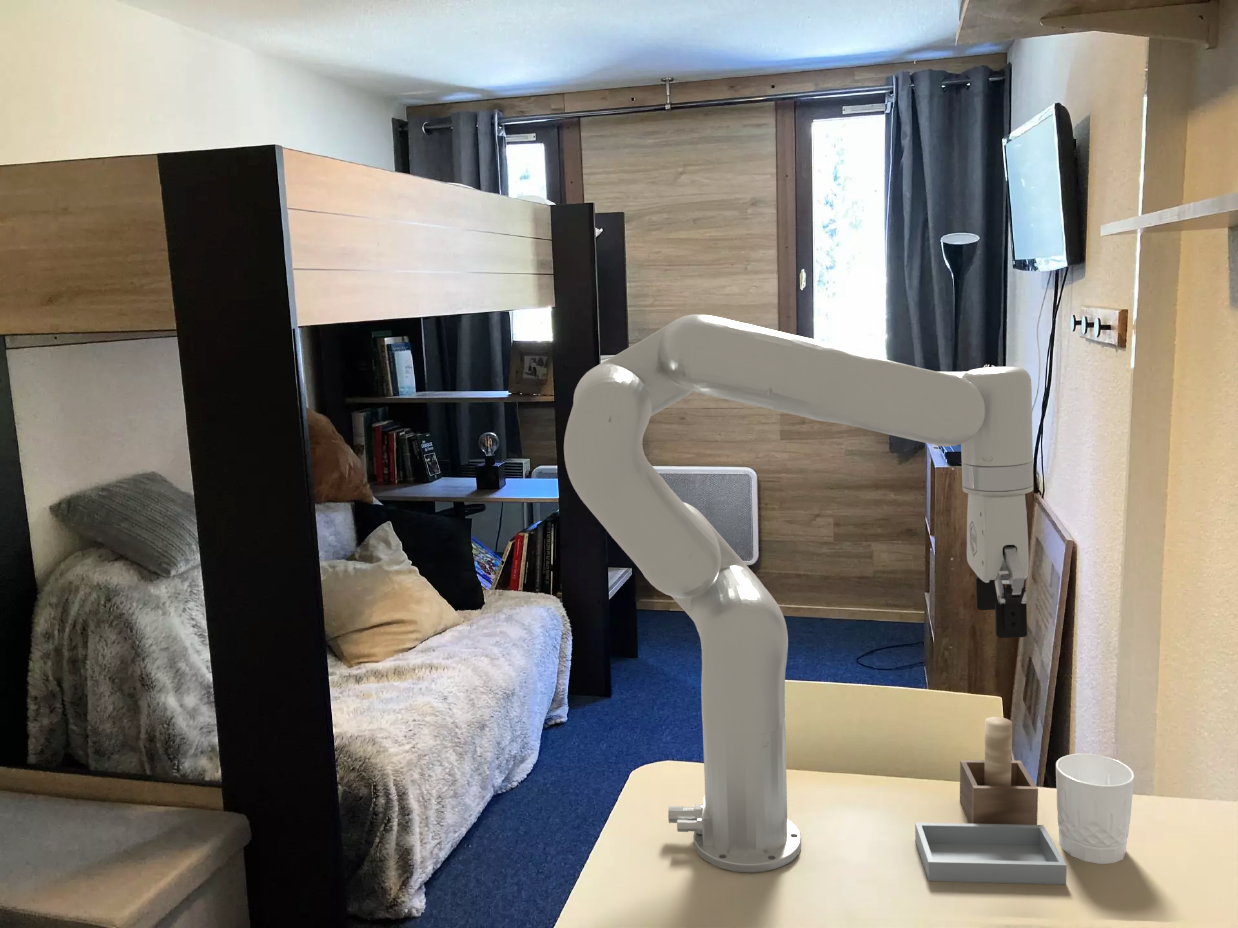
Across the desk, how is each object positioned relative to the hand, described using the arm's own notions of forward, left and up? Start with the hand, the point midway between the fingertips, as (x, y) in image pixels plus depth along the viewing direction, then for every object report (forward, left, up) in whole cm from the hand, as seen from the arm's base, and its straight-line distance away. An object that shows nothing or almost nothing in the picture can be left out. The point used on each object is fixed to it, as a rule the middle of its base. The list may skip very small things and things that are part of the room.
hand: (1000, 622), depth 114 cm
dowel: (0, +1, -25) cm, 25 cm away
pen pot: (0, +1, -25) cm, 25 cm away
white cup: (+9, -5, -26) cm, 28 cm away
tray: (-3, -9, -25) cm, 27 cm away
